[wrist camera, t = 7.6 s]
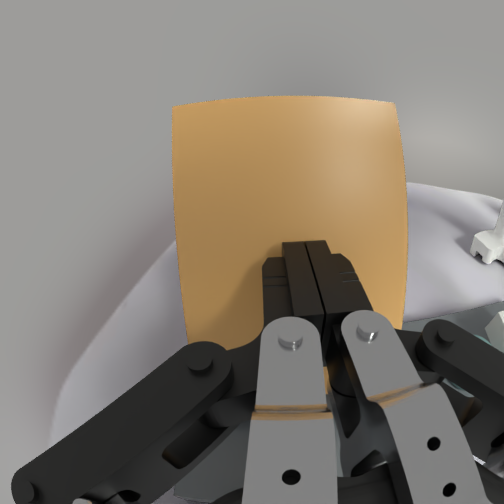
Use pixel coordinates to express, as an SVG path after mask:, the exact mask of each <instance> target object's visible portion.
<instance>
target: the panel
mask: <svg viewBox="0 0 504 504" xmlns="http://www.w3.org/2000/svg"><path fill="white" fill-rule="evenodd" d="M501 311H504V301H502V302H498V303H494V304H491V305H487V306H483V307H479V308H475V309H471V310H467V311H462V312H458V313H453V314H449V315H444V316H439V317H434V318H429V319H423V320H418V321H412V322H406V323H402V329H401V330H407V331H416V332H422V330H423V328H424V326H425V325H426V324H427V323H428V322H429V321H431V320H435V319H444V320H447V321H450V322H452V323H454V324H456V325H457V326H459V327H461V328H463V329H464V330H466V331H468V332H469V333H471V334H473V335H478V336H481V337H483V338H484V339H486V340H487V341H488V342H489V343H490V340H489V338H488V335H487V333H486V330H485V327H486V326H487V325H488V324H489V323H490V321H491V320H492V319H493V318H494V317H495V316H496V314H497V313H498V312H501ZM490 344H491V343H490ZM442 382H444V383H446V384H447V385H449V386H450V387H452V388H454V389H455V390H457V391H458V392H460V393H461V394H463V395H465V396H467V397H474V396H473V395H472V394H470V393H468V392H467V391H465V390H462V389H459V388H458V387H456V386H455V385H454V384H453V383H452V382H451V381H449V380H448V379H446V378H445V379H444V380H443V381H442ZM332 415H333V420H334V430H335V445H336V464H337V477H343V472H342V468H341V463H340V438H339V434H338V430H337V426H336V422H335V418H334V414H333V413H332ZM250 423H251V420H248V421H245V422H242V423H240V424H239V426H238V427H237V428H236V429H235V430H234V431H233V432H232V433H231V434H230V435H229V436H228V437H227V438H226V439H225V440H224V441H223V442H222V443H221V444H220V445H219V446H218V447H217V448H216V449H215V450H213V451H212V452H211V453H210V454H209V455H208V456H207V457H206V458H205V459H204V460H203V461H202V462H201V463H199V464H198V465H197V466H196V467H195V468H194V469H193V470H192V471H190V472H189V473H188V474H187V475H186V476H185V477H184V478H182V479H181V480H180V481H179V482H178V483H176V484H175V488H174V496H177V497H179V498H182V499H185V500H190V501H198V502H206V503H212V502H213V501H215V500H216V499H218V498H220V497H221V496H223V495H225V494H227V493H229V492H232V491H234V490H236V489H239V488H242V487H244V479H245V470H246V461H247V452H248V442H249V432H250Z"/></svg>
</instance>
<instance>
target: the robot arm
mask: <svg viewBox="0 0 504 504" xmlns="http://www.w3.org/2000/svg"><path fill="white" fill-rule="evenodd" d="M262 286H263V314H264V325H263V329H262V331H261V333H260V334H259V335H258V336H257V337H256V338H255V339H254V340H253V341H251V342H250V343H248V344H246V345H243V346H240V347H237V348H234V349H230V350H226V349H225V348H224V347H222V346H221V345H219V344H217V343H214V342H209V341H198V342H194V343H191V344H188V345H186V346H184V347H183V348H181V349H180V350H179V351H178V352H176V353H175V354H174V355H173V356H171V357H170V358H169V359H168V360H166V361H165V362H164V363H163V364H161V365H160V366H159V367H158V368H156V369H155V370H154V371H153V372H151V373H150V374H149V375H147V376H146V377H145V378H144V379H142V380H141V381H140V382H138V383H137V384H136V385H135V386H133V387H132V388H131V389H129V390H128V391H127V392H126V393H124V394H123V395H122V396H120V397H119V398H118V399H116V400H115V401H114V402H112V403H111V404H110V405H108V406H107V407H106V408H104V409H103V410H102V411H100V412H99V413H98V414H96V415H95V416H94V417H92V418H91V419H90V420H88V421H87V422H86V423H84V424H83V425H82V426H80V427H79V428H77V429H76V430H75V431H73V432H72V433H71V434H69V435H68V436H66V437H65V438H64V439H62V440H61V441H59V442H58V443H57V444H55V445H54V446H52V447H51V448H49V449H48V450H47V451H45V452H44V453H42V454H41V455H39V456H38V457H36V458H35V459H34V460H32V461H31V462H29V463H28V464H26V465H25V466H23V467H22V468H20V469H19V470H18V471H17V472H16V473H15V474H14V476H13V479H12V483H11V490H12V495H13V499H14V501H15V503H16V504H151V503H153V502H154V501H155V500H156V499H158V498H159V497H160V496H162V495H163V494H164V493H165V492H167V491H168V490H169V489H170V488H172V487H173V486H174V485H175V484H176V483H178V482H179V481H180V480H181V479H182V478H184V477H185V476H186V475H187V474H188V473H189V472H190V471H192V470H193V469H194V468H195V467H196V466H197V465H198V464H199V463H201V462H202V461H203V460H204V459H205V458H206V457H207V456H208V455H209V454H210V453H211V452H212V451H213V450H215V449H216V448H217V447H218V446H219V445H220V444H221V443H222V442H223V441H224V440H225V439H226V438H227V437H228V436H229V435H230V434H231V433H232V432H233V431H234V430H235V429H236V428H237V427H238V426H239V424H240V423H242V422H245V421H248V420H251V423H250V432H249V442H248V452H247V461H246V470H245V479H244V487H242V488H239V489H236V490H234V491H232V492H229V493H227V494H225V495H223V496H221V497H220V498H218V499H216V500H215V501H213V502H212V503H210V504H504V353H503V352H501V351H499V350H498V349H496V348H494V347H493V346H491V345H489V344H488V343H486V342H484V341H483V340H481V339H479V338H478V337H476V336H474V335H473V334H471V333H469V332H468V331H466V330H464V329H463V328H461V327H459V326H457V325H456V324H454V323H452V322H450V321H447V320H444V319H435V320H431V321H429V322H428V323H427V324H426V325H425V326H424V328H423V330H422V332H416V331H407V330H399V329H395V328H393V326H392V324H391V323H390V321H389V320H388V319H387V318H386V317H385V316H383V315H381V314H380V313H377V312H374V310H373V308H372V305H371V303H370V301H369V299H368V297H367V295H366V292H365V290H364V288H363V286H362V284H361V282H360V281H359V278H358V276H357V274H356V273H355V269H354V267H353V265H352V263H351V261H349V260H348V259H347V258H346V257H345V256H343V255H342V254H341V253H336V254H331V251H330V249H329V247H328V245H327V242H326V241H325V240H313V241H304V242H303V241H295V242H282V257H268V258H267V259H266V261H265V262H264V264H263V265H262ZM323 367H327V370H328V375H329V377H328V380H327V392H328V396H329V399H330V403H331V407H332V411H333V414H334V418H335V422H336V426H337V430H338V434H339V438H340V463H341V468H342V472H343V477H337V464H336V445H335V430H334V420H333V415H332V412H331V410H330V409H328V407H327V403H326V393H325V381H324V371H323ZM445 378H446V379H448V380H449V381H451V382H452V383H454V384H456V385H457V386H459V387H460V388H462V389H464V390H465V391H467V392H468V393H470V394H472V395H473V396H474V397H467V396H465V395H463V394H461V393H460V392H458V391H457V390H455V389H454V388H452V387H450V386H449V385H447V384H446V383H444V382H442V381H443V380H444V379H445ZM473 455H474V456H476V457H477V458H479V459H481V460H482V461H484V462H486V463H484V464H483V465H481V464H480V463H478V462H477V461H475V460H474V458H473Z"/></svg>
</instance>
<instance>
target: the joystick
mask: <svg viewBox="0 0 504 504" xmlns="http://www.w3.org/2000/svg"><path fill="white" fill-rule="evenodd" d="M470 253H471V254H472V255H473V256H474V257H475V256H476V255H477V254H479V253H480V254H481V255H482V256H483V258H482V261H483V262H484V263H486V264H490V263H491V262H492V261H493V260H495V259H498V260H501V261H502V262H503V263H504V200H503V203H502V207H501V210H500V214H499V217H498V220H497V223H496V226H495V229H494V230H486V231H482V232H479V233H477V234H475V236H474V239H473V242H472V246H471V249H470Z"/></svg>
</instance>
